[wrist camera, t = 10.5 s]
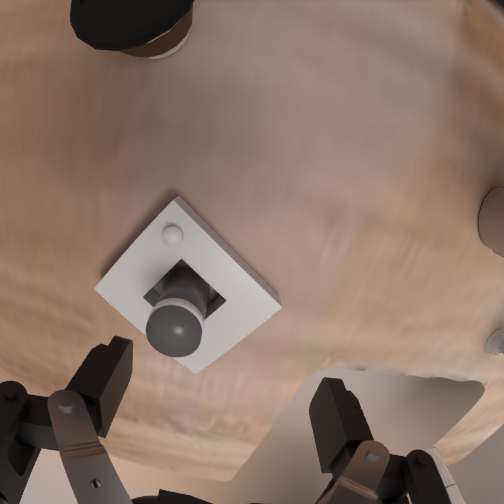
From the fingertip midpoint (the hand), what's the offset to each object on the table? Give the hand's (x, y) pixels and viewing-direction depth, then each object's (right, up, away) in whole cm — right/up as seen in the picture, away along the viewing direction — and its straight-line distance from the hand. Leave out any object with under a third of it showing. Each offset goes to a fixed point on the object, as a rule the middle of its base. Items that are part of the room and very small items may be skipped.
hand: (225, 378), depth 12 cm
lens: (-6, +1, +23) cm, 24 cm away
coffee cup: (-9, +29, +14) cm, 33 cm away
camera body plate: (-6, +1, +23) cm, 24 cm away
